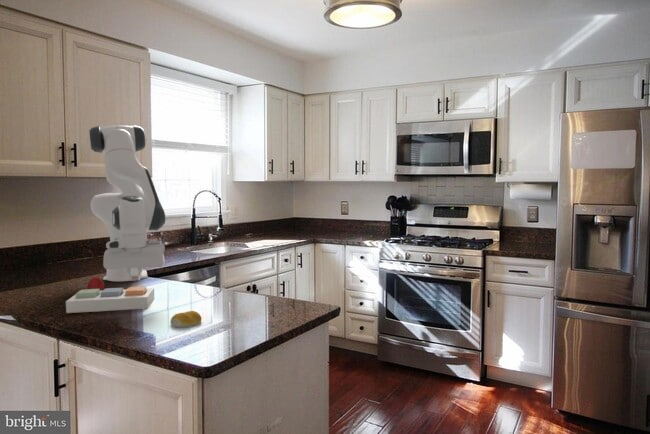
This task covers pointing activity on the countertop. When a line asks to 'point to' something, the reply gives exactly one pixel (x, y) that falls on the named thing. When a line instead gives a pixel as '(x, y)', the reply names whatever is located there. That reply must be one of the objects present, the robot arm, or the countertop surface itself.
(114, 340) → the countertop surface
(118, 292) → the key slate
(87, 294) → the key sage
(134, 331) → the countertop surface
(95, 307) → the keypad
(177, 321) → the bread roll
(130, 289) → the key terracotta
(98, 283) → the onion
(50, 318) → the countertop surface
